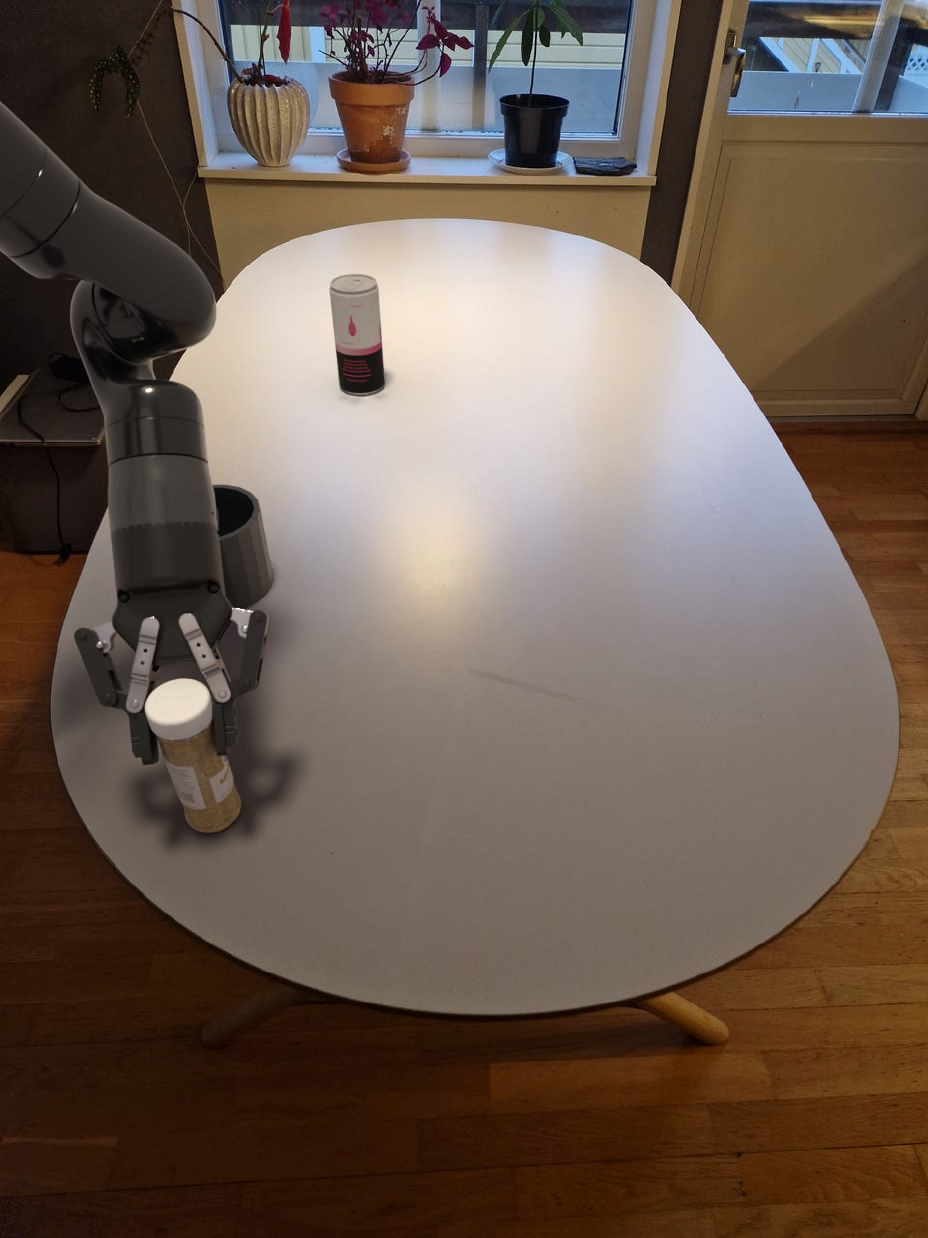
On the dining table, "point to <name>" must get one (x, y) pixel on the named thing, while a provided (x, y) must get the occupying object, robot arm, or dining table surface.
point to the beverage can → (357, 333)
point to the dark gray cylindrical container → (242, 546)
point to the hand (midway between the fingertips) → (188, 758)
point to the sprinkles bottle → (193, 753)
